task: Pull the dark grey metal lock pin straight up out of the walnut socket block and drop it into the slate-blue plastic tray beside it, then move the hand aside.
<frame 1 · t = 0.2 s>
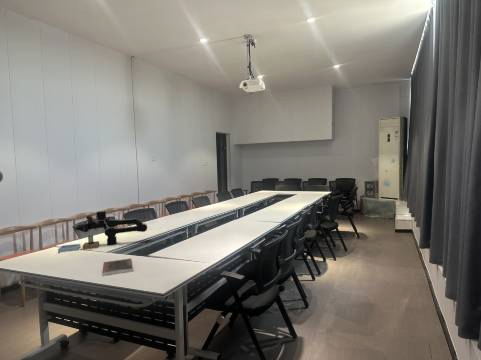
hand: (75, 227, 242), 16 cm above the table, tool horizontal, fingers open, 9 cm apart
picture frame: (117, 269, 192), on the table
tray: (69, 250, 239), on the table
lock pin: (91, 247, 243), point 1 cm above the table, touching socket block
socket block: (91, 247, 243), on the table
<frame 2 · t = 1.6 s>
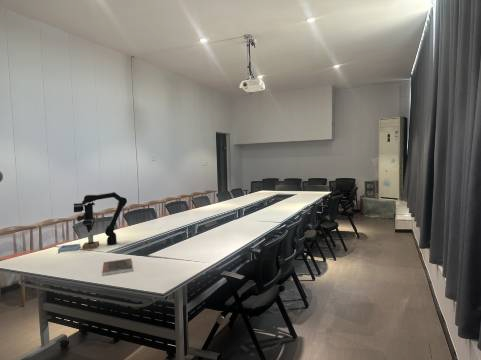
hand: (90, 231, 242), 13 cm above the table, tool pointing down, fingers open, 9 cm apart
nothing on the table moved.
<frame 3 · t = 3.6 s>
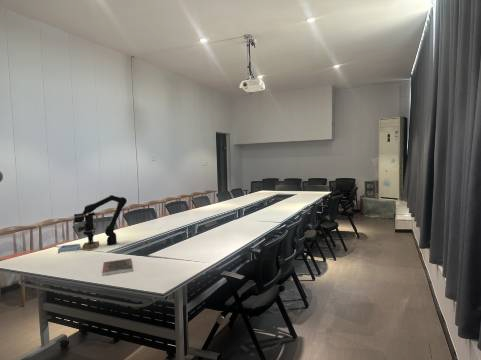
hand: (90, 241, 243), 5 cm above the table, tool pointing down, fingers closed on lock pin, 3 cm apart
lock pin: (91, 247, 243), point 1 cm above the table, touching gripper, socket block
everything else where it was.
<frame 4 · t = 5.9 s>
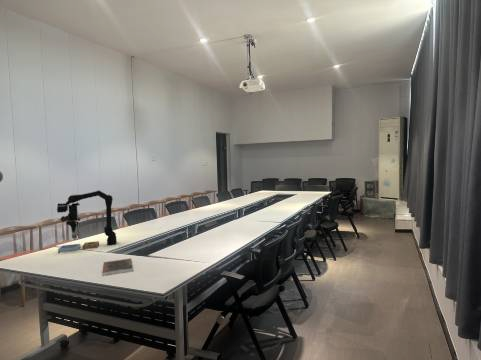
hand: (74, 232, 239), 14 cm above the table, tool pointing down, fingers closed on lock pin, 3 cm apart
lock pin: (74, 237, 239), point 9 cm above the table, touching gripper
everything else where it was.
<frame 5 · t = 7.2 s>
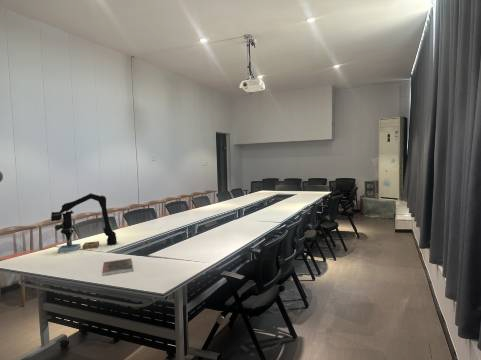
hand: (69, 240, 238), 8 cm above the table, tool pointing down, fingers closed on lock pin, 3 cm apart
lock pin: (69, 245, 239), point 3 cm above the table, touching gripper
everything else where it was.
when the fingers open (6 cm above the table, at t = 8.1 s): lock pin drops 1 cm, resting on tray.
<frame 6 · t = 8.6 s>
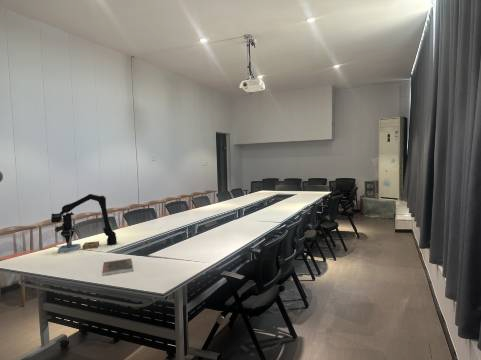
hand: (69, 241, 238), 6 cm above the table, tool pointing down, fingers open, 9 cm apart
lock pin: (69, 249, 239), point 1 cm above the table, touching tray
everything else where it was.
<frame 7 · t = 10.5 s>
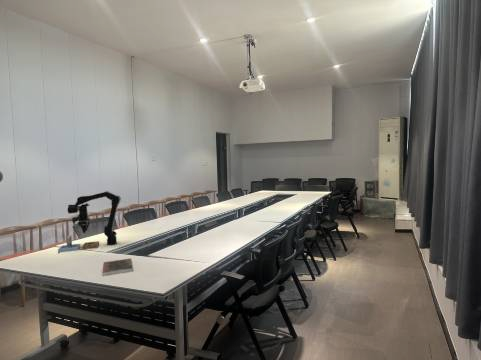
hand: (85, 232, 246), 12 cm above the table, tool pointing down, fingers open, 9 cm apart
nothing on the table moved.
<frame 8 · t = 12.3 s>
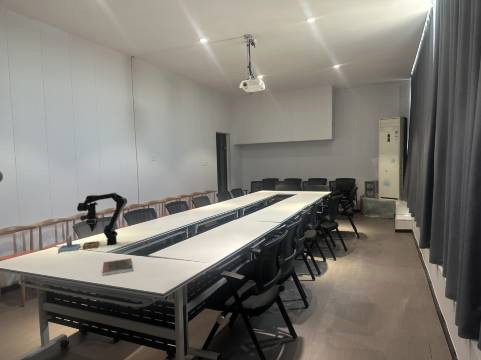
hand: (93, 230, 250), 12 cm above the table, tool pointing down, fingers open, 9 cm apart
nothing on the table moved.
at the end: lock pin inside the target area on the tray (0.0 cm from its centre), point 0.6 cm above the tray's base; lock pin moved 15.0 cm from its start; the gripper is holding nothing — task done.
